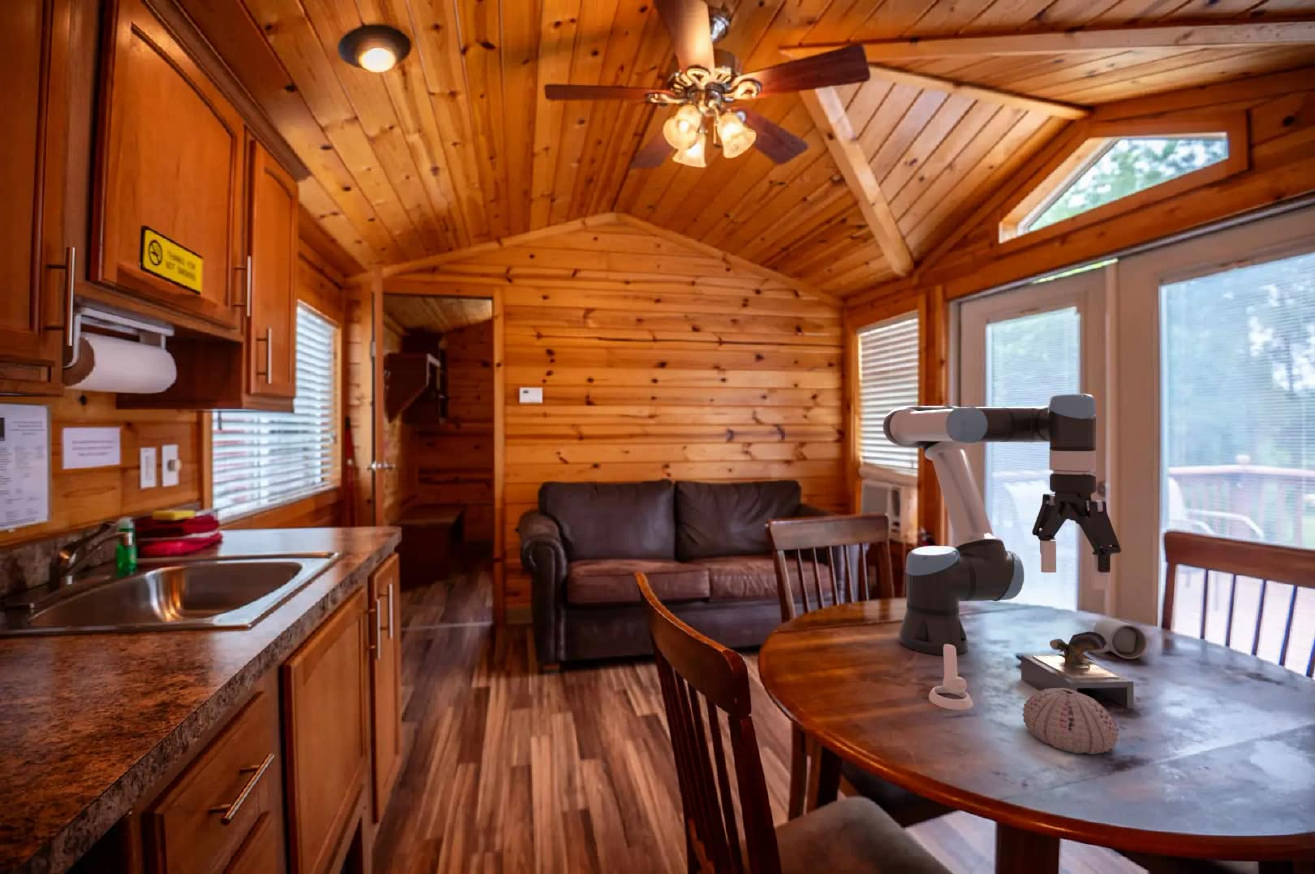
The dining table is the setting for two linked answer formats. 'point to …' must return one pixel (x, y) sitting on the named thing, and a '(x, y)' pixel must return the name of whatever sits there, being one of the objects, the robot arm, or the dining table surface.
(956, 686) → the vr controller
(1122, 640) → the ceramic mug
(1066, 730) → the sea urchin shell
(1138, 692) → the dining table surface
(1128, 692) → the dark boxy piece
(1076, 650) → the eagle figurine
